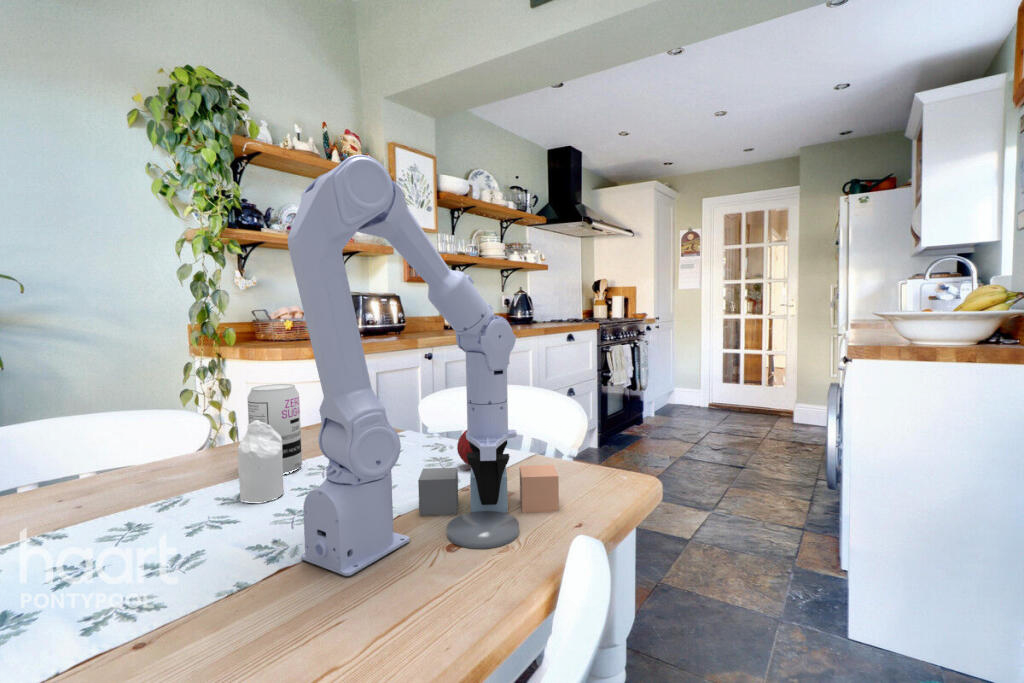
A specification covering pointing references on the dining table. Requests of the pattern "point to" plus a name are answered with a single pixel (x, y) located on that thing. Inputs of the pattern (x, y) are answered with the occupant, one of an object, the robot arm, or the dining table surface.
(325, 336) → the robot arm
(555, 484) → the terracotta cube
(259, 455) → the grey crumpled-top cylinder
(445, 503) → the charcoal cube
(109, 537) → the dining table surface
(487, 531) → the slate coaster
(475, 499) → the blue cube
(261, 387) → the white soda can
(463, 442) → the onion
